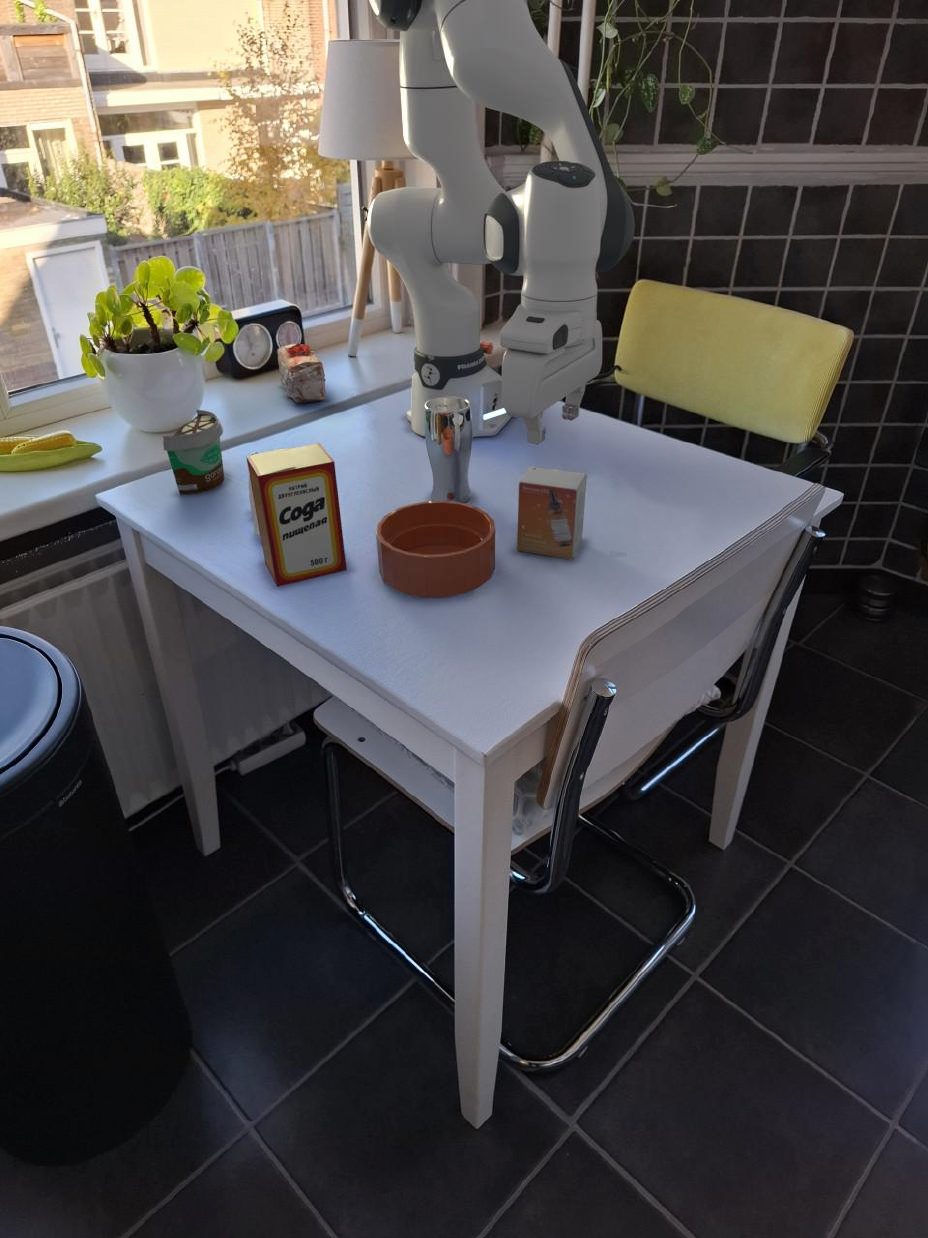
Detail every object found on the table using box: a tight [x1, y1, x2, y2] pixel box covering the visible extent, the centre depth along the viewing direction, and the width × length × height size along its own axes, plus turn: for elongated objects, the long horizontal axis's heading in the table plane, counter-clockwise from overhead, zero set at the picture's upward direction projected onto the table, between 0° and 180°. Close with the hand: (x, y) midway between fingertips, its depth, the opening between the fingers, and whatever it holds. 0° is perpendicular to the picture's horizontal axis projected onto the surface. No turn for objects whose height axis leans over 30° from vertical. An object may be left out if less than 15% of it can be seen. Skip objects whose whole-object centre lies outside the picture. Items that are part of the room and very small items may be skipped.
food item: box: [277, 342, 327, 404], centre depth 171 cm, size 14×8×10 cm, turn 24°
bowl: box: [375, 500, 496, 599], centre depth 113 cm, size 15×15×6 cm
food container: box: [162, 409, 225, 495], centre depth 137 cm, size 12×6×10 cm, turn 168°
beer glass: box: [424, 396, 473, 504], centre depth 129 cm, size 7×7×15 cm
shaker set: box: [248, 451, 261, 538], centre depth 123 cm, size 12×4×11 cm, turn 14°
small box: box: [516, 465, 588, 561], centre depth 117 cm, size 8×6×10 cm
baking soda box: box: [246, 442, 348, 588], centre depth 112 cm, size 10×6×16 cm
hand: (553, 430), depth 110 cm, fingers open, 8 cm apart
